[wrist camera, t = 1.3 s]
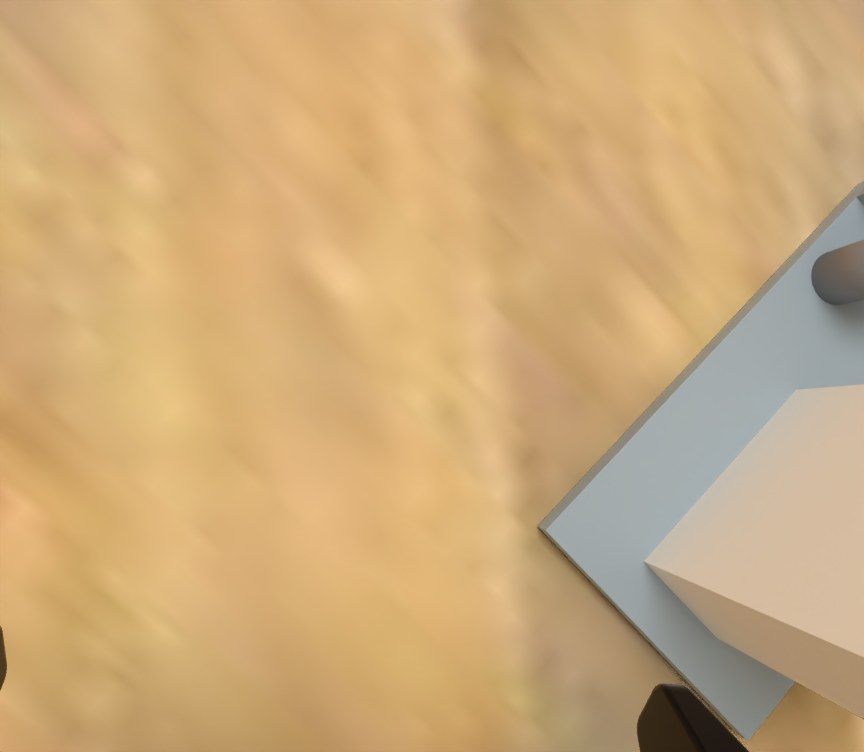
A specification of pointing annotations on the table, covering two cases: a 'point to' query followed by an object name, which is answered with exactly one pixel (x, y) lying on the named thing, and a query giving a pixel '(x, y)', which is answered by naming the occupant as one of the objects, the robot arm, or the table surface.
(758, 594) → the panel
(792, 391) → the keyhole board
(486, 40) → the table surface
